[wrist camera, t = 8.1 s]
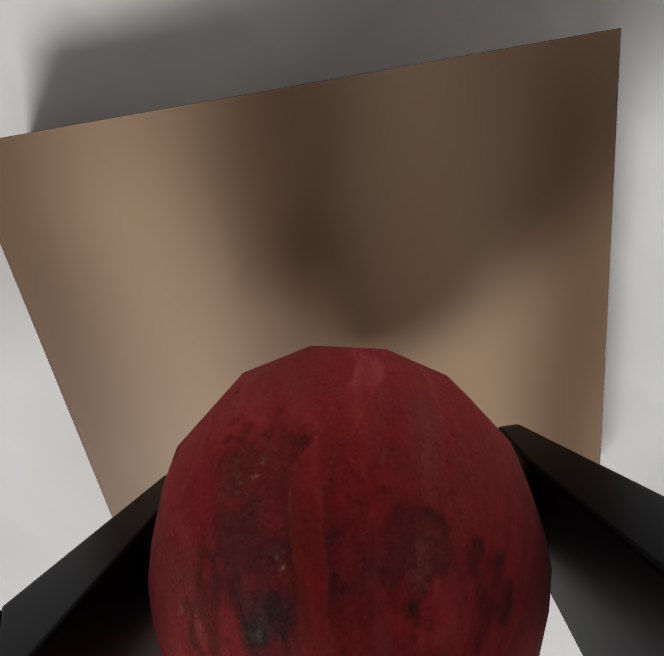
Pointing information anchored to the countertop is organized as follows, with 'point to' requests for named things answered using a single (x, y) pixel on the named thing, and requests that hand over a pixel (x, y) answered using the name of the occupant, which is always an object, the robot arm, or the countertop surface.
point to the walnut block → (326, 243)
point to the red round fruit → (347, 519)
